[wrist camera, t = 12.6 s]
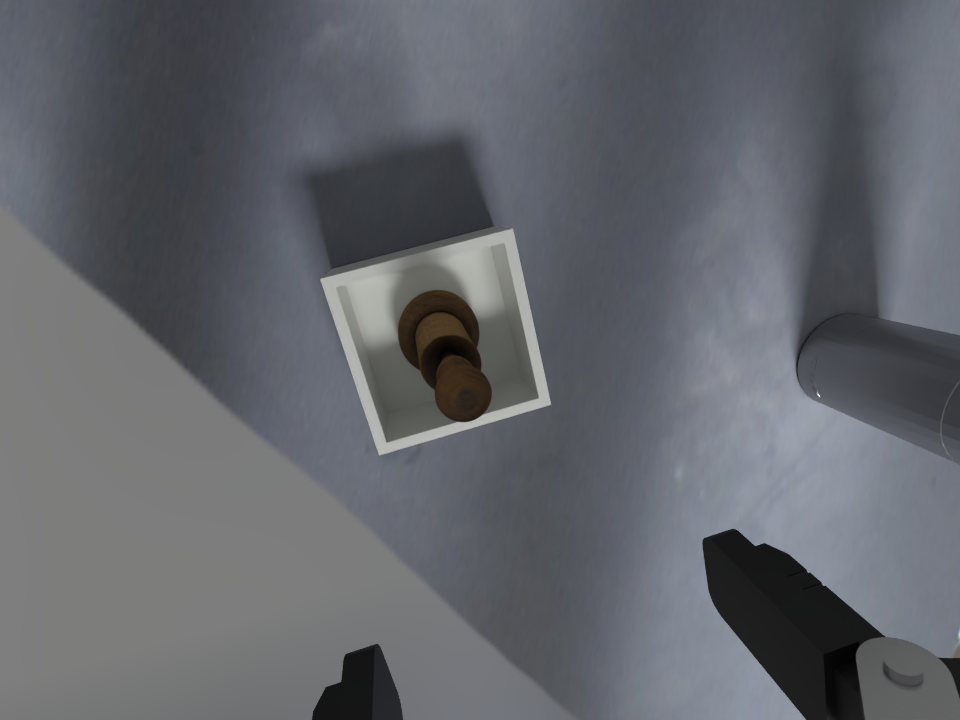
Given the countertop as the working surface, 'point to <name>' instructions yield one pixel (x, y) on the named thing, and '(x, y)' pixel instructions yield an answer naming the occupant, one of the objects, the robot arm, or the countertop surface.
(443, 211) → the countertop surface
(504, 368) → the box
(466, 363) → the mortar and pestle
